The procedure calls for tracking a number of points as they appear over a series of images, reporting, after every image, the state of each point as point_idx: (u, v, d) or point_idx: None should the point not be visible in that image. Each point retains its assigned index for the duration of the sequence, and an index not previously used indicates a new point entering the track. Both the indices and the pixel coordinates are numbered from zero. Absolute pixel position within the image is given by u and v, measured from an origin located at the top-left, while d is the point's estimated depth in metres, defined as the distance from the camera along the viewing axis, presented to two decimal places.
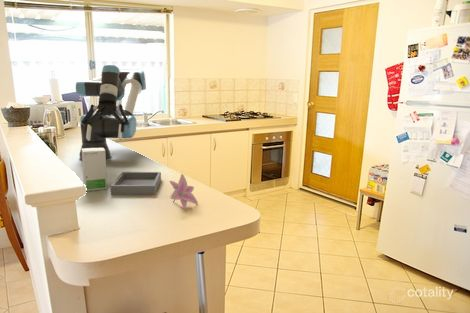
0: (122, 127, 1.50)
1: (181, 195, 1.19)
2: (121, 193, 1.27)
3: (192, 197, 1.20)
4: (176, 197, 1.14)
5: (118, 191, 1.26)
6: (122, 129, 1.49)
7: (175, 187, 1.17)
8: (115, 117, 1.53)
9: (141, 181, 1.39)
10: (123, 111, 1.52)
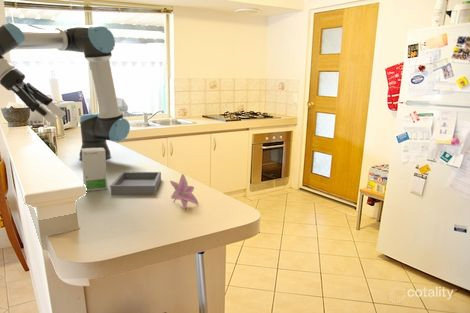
0: None
1: (181, 195, 1.19)
2: (121, 193, 1.27)
3: (192, 197, 1.20)
4: (176, 197, 1.14)
5: (118, 191, 1.26)
6: None
7: (175, 187, 1.17)
8: None
9: (141, 181, 1.39)
10: (19, 94, 1.13)
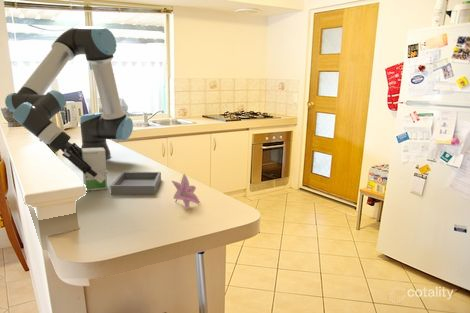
0: None
1: (183, 195, 1.19)
2: (121, 193, 1.27)
3: (194, 197, 1.20)
4: (178, 197, 1.14)
5: (118, 191, 1.26)
6: None
7: (177, 187, 1.17)
8: (80, 157, 1.27)
9: (141, 181, 1.39)
10: (71, 159, 1.23)
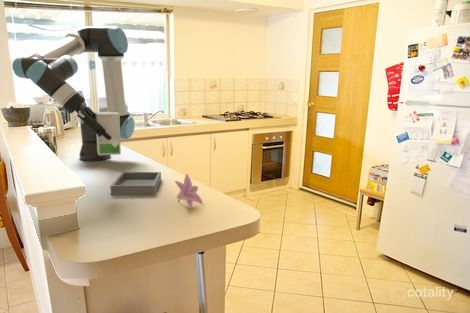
0: None
1: (186, 195, 1.19)
2: (121, 193, 1.27)
3: (197, 197, 1.20)
4: (182, 197, 1.14)
5: (118, 191, 1.26)
6: None
7: (180, 187, 1.17)
8: (94, 119, 1.24)
9: (141, 181, 1.39)
10: (86, 120, 1.19)
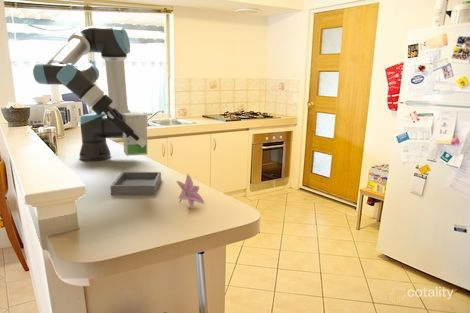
0: (133, 137, 1.26)
1: (188, 195, 1.19)
2: (121, 193, 1.27)
3: (198, 197, 1.20)
4: (184, 197, 1.14)
5: (118, 191, 1.26)
6: (135, 139, 1.26)
7: (182, 187, 1.17)
8: (122, 120, 1.26)
9: (141, 181, 1.39)
10: (115, 122, 1.21)
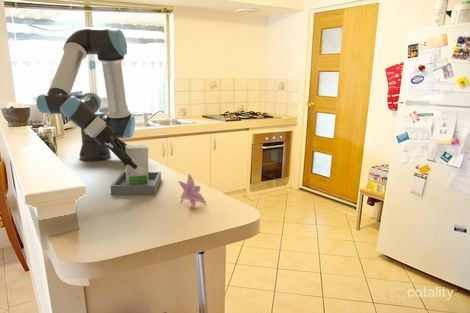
0: None
1: (189, 195, 1.19)
2: (121, 193, 1.27)
3: (200, 197, 1.20)
4: (185, 197, 1.14)
5: (118, 191, 1.26)
6: None
7: (184, 187, 1.17)
8: (122, 150, 1.27)
9: None
10: (114, 151, 1.23)
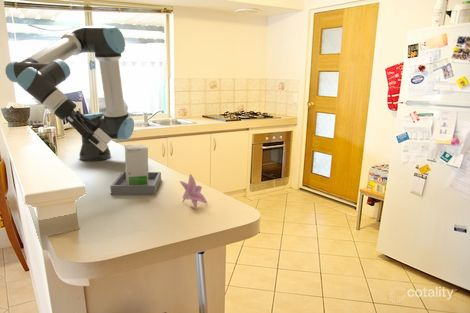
0: None
1: (191, 195, 1.19)
2: (121, 193, 1.27)
3: (201, 197, 1.20)
4: (187, 197, 1.14)
5: (118, 191, 1.26)
6: None
7: (185, 187, 1.17)
8: None
9: None
10: (74, 124, 1.17)
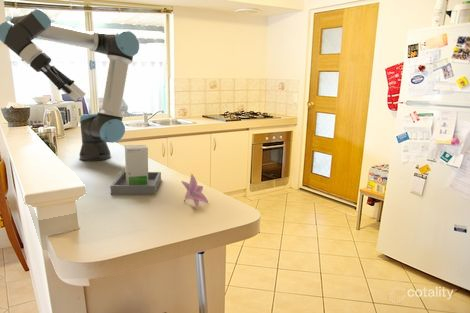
0: None
1: (192, 195, 1.19)
2: (121, 193, 1.27)
3: (203, 197, 1.20)
4: (189, 197, 1.14)
5: (118, 191, 1.26)
6: (67, 92, 1.32)
7: (187, 187, 1.17)
8: (57, 76, 1.33)
9: None
10: (48, 74, 1.29)
